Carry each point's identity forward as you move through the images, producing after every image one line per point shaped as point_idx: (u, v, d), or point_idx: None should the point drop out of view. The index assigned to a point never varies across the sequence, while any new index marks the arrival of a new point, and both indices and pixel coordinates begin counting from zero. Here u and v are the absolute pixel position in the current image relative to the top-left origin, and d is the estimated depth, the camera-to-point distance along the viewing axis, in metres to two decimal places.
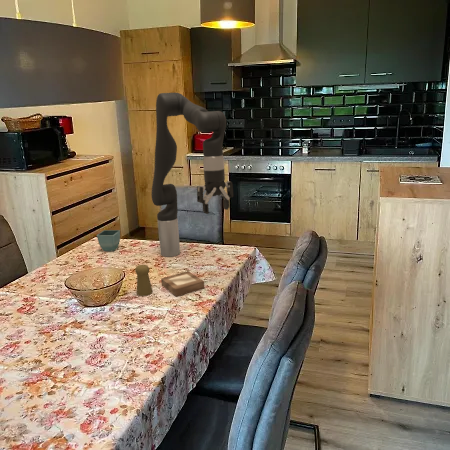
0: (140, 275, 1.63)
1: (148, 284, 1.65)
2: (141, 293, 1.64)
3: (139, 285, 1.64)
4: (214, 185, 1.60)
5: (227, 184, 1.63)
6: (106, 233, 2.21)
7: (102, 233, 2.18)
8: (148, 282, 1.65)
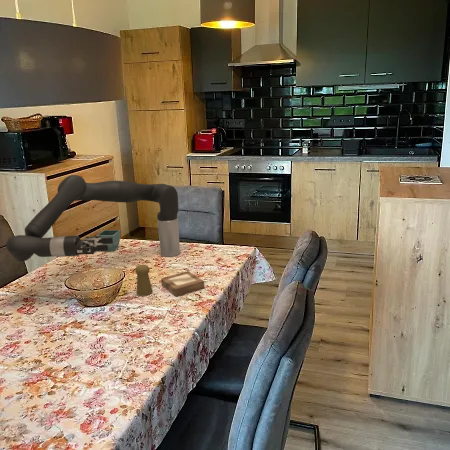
0: (140, 275, 1.63)
1: (148, 284, 1.65)
2: (141, 293, 1.64)
3: (139, 285, 1.64)
4: None
5: None
6: (106, 233, 2.21)
7: (102, 233, 2.18)
8: (148, 282, 1.65)
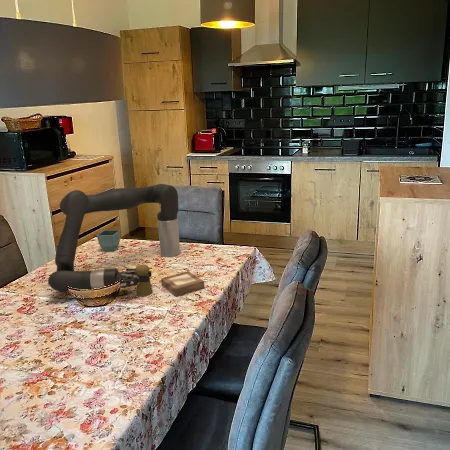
0: (140, 275, 1.63)
1: (148, 284, 1.65)
2: (141, 292, 1.64)
3: (139, 285, 1.64)
4: None
5: None
6: (106, 233, 2.21)
7: (102, 233, 2.18)
8: (148, 282, 1.65)
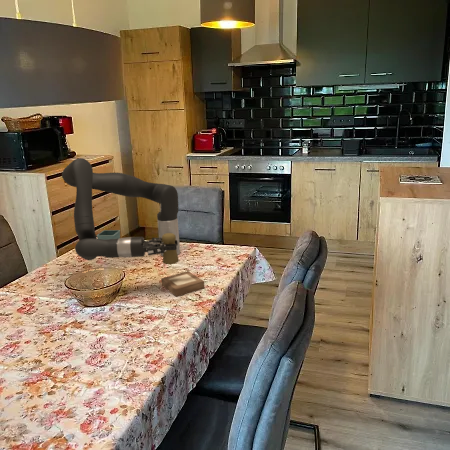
0: (167, 243, 1.63)
1: (174, 252, 1.64)
2: (168, 261, 1.64)
3: (165, 253, 1.64)
4: None
5: None
6: (106, 233, 2.21)
7: (102, 233, 2.18)
8: (174, 250, 1.64)
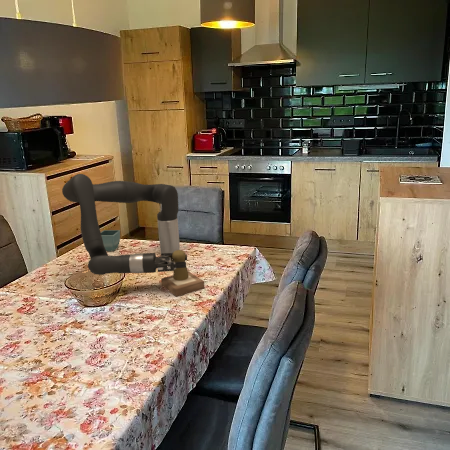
0: (177, 261, 1.67)
1: (185, 269, 1.69)
2: (178, 277, 1.68)
3: (176, 270, 1.68)
4: None
5: None
6: (106, 233, 2.21)
7: (102, 233, 2.18)
8: None
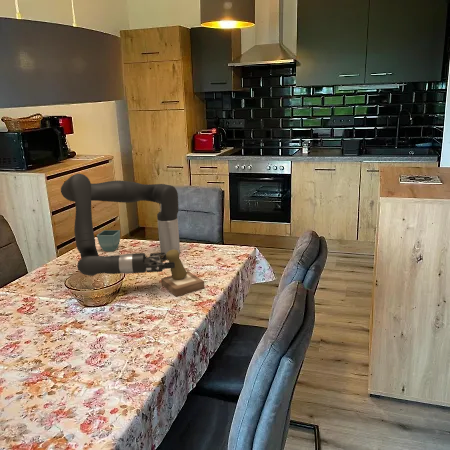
0: (172, 261, 1.67)
1: (181, 267, 1.69)
2: (176, 276, 1.69)
3: (172, 270, 1.69)
4: None
5: None
6: (106, 233, 2.21)
7: (102, 233, 2.18)
8: (181, 265, 1.69)
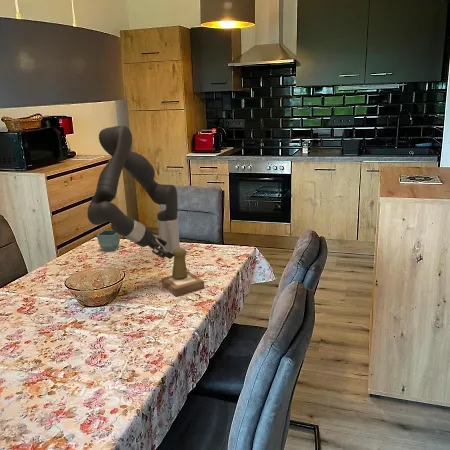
0: (177, 257, 1.69)
1: (184, 267, 1.70)
2: (177, 274, 1.69)
3: (175, 267, 1.70)
4: None
5: None
6: (106, 233, 2.21)
7: (102, 233, 2.18)
8: (184, 265, 1.70)
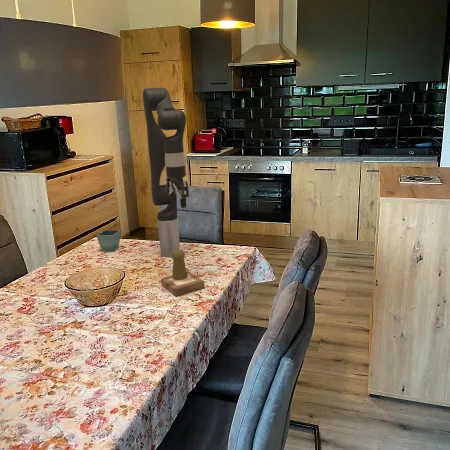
0: (176, 260, 1.68)
1: (184, 268, 1.70)
2: (177, 277, 1.69)
3: (175, 269, 1.69)
4: (173, 180, 1.69)
5: None
6: (106, 233, 2.21)
7: (102, 233, 2.18)
8: (184, 266, 1.70)
